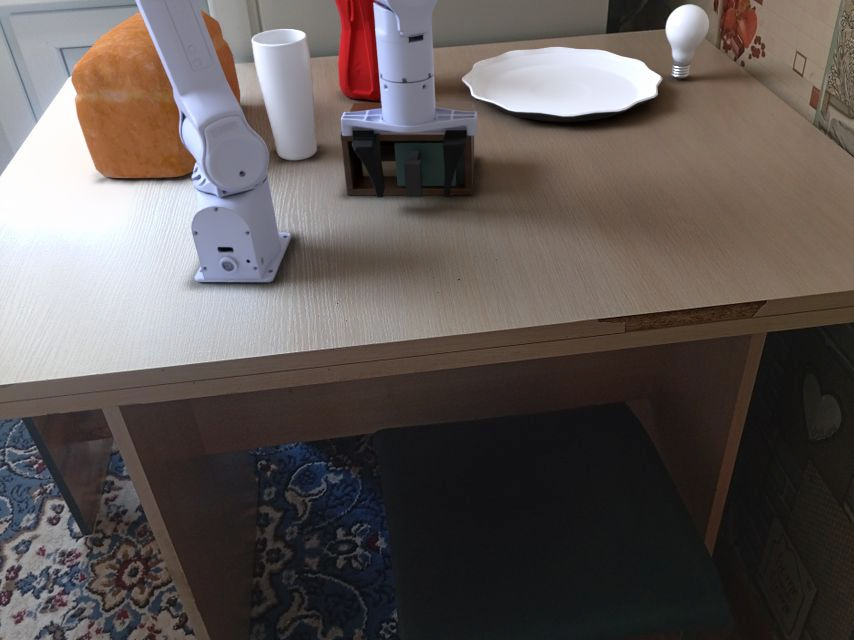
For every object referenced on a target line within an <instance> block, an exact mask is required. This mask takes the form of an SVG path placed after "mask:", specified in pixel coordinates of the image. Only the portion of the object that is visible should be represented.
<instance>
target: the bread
mask: <svg viewBox="0 0 854 640" xmlns="http://www.w3.org/2000/svg"><path fill="white" fill-rule="evenodd" d="M200 12H201V14H202V17H203V20H204V22H205V25H206V27H207V30H208V33H209V35H210V38H211V41H212V43H213V46H214V49H215V51H216V54H217V56H218V59H219V62H220V64H221V67H222V70H223V72H224V75H225V78H226V80H227V82H228V84H229V86H230V88H231V90H232V92H233V94H234V96H235V97H236V99H237V101H238V103H239V105H240V106H241V89H240V83H239V79H238V74H237V70H236V69H237V68H236V63H235V58H234V54H233V52H232V50H231V48H230V46H229V43H228V42H227V40H226V39H225V38H224V36H223V31H222V27H221V25H220V23H219V21H218V20H217V19H215V18H214V17H213V16H211V15H209V14H208V13H207V12H206V11H203V10H202V9H200ZM70 81H71V84H72V86H73V88H74V91H75V93H76V95H75V98H74V103H75V104H74V105H75V111H76V117H77V120H78V124H79V126H80V129H81V132H82V136H83V138H84V142H85V144H86V147H87V150H88V152H89V154H90V155H89V156H90V158H91V160H92V163H93V165H94V168H95V170H96V171H97V172H99V174H101V175H102V176H103V177H107V178H112V179H157V178H159V179H160V178H176V177H184V176H186V175H188V174H191V173H193V170H194V167H195V163H196V162H197V161H196V159H195V158H194V156H193V155H192V154H191V153H190V152H189V151H188V150H187V148H186V147H185V146H184V144H183V142H182V140H181V138H180V134H179V123H180V113H179V109H178V106H177V104H176V102H175V99H174V95H173V87H172V85H171V83H170V80H169V78H168V76H167V73H166V71H165V69H164V66H163V64H162V62H161V59H160V57H159V55H158V52H157V50H156V48H155V45H154V43H153V41H152V38H151V36H150V34H149V31H148V29H147V27H146V24H145V22H144V20H143V17H142V15H141V13H140V11H139V12H137V13H135V14H134V15H132V16H130V17H128V18H127V19H124V20H123V21H121V22H120V23H118V24H117V25H115V26H114V27H113V28H111V29H110V30H109V31H107V32H106V33H104V34H103V35H102V36H100V37H98V39H97V40H96V41H95V43H94V44H93V45H92V46H91V47H90V48H89V49H88V51H86V53H84V55H82V57H81V58H80V59H79V60H78V61H77V62H76V63H75V64H74V66H73V69H72V74H71V77H70Z"/></svg>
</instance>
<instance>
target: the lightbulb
mask: <svg viewBox="0 0 854 640" xmlns="http://www.w3.org/2000/svg"><path fill="white" fill-rule="evenodd" d="M709 20H710V19H709V16H708V14H707V13H706V11H705V10H704V9H703V8H702V7H701V6H698V5H696V4H690V3H689V4H683V5H679V6H678V7H677V8H675V9H674V10H673V11H672V12H671V13H670V14H669V16H668V18H667V19H666V23H665V36H666V39H667V41H668V43H669V45H670V47H671V57H672V67H671V76H672V77H673V78H674V79H676V80H678V81H680V80H683V79H686V78H687V77H689V76H690V68H691V63H692V60H693V59H694V56H695V55H696V50H697V49H698V48H699V46H701V44H702V43H703V42H704V41H705V39H706V38H707V36H708V33H709V29H710V21H709Z"/></svg>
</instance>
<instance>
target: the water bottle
mask: <svg viewBox="0 0 854 640" xmlns="http://www.w3.org/2000/svg"><path fill="white" fill-rule="evenodd" d="M334 2H335V5H336V9H337V11H338V14H339V19H340V27H341V31H340V39H339V49H338V51H339V52H338V60H337V71H338V85H339V88H340V91H341V93H342V94H343V95H344V96H346V97H347V98H349V99H354V100H365V101H373V102H381V92H380V80H379V67H378V55H377V43H376V32H375V17H374V5H373V3H374V2H375V3H377V4H379V5H381V6H384V5H382V4H380V3H378V2H377V1H375V0H334ZM385 7H386V6H385Z"/></svg>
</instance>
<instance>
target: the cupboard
mask: <svg viewBox="0 0 854 640" xmlns="http://www.w3.org/2000/svg"><path fill="white" fill-rule="evenodd" d="M435 107H436V108H443V109H450V110H458V111H469V112H475V102H474V101H467V102H466V101H462V102H461V101H460V102H459V101H455V102H453V101H451V102H442V101H441V102H440V101H439V102H437V101H435ZM381 108H382V103H381V102H353V103H352V104H351V106H350V109H349V112H358V111H366V110H373V109H381ZM444 134H445V133H380V145H381V162H382V168H383V175H384V184H385V190H384V194H383V196H406V186H398V184H397V171H396V158H395V145H394V143H395V141H443V140H444ZM339 136H340V137H339V138H340V146H341V155H342V161H343V170H344V178H345V179H344V180H345V184H346V186H345V187H346V193H347V194H346V195H347V196H376V192H375V189H374V186H373V183H372V180H371V178H370V176H369V174H368V172H367V170H366V168H365V166H364V164H363V163H362V161H361V160H360V158H359V157H358V155H357V154H356V153H355V152H354V149H353V147H352V142H353V135H352V136H343V134H342V131H341V132H340V134H339ZM474 173H475V136H469V135H467V142H466V147H465V149H464V152H463V154H462V156H461V158H460V160H459V162H458V165H457V167H456V182H457V184H456V186H451V196H472V195H473V191H474V190H473V188H474ZM422 189H423V193H422V196H444V186H422Z"/></svg>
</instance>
